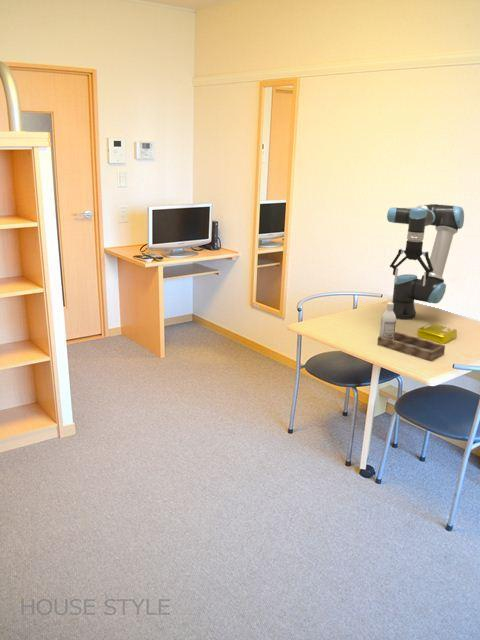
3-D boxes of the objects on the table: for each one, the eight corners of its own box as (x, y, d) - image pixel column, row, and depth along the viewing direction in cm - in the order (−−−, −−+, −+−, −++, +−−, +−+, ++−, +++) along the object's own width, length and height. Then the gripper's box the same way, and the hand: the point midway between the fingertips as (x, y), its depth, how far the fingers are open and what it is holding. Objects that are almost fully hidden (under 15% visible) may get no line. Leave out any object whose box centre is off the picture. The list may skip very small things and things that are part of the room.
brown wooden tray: (377, 344, 262) (378, 337, 260) (391, 338, 270) (392, 330, 269) (431, 361, 243) (432, 352, 242) (443, 353, 252) (445, 345, 251)
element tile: (429, 330, 284) (430, 321, 282) (457, 338, 273) (458, 329, 272) (415, 337, 274) (416, 328, 272) (443, 345, 263) (445, 336, 262)
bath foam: (396, 343, 264) (401, 304, 257) (385, 345, 261) (389, 306, 254) (387, 338, 270) (391, 300, 263) (376, 340, 267) (380, 302, 260)
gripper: (387, 239, 260) (382, 281, 267) (441, 244, 250) (435, 288, 257) (390, 236, 267) (385, 278, 273) (443, 241, 257) (436, 285, 263)
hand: (409, 283), depth 265 cm, fingers open, 13 cm apart
